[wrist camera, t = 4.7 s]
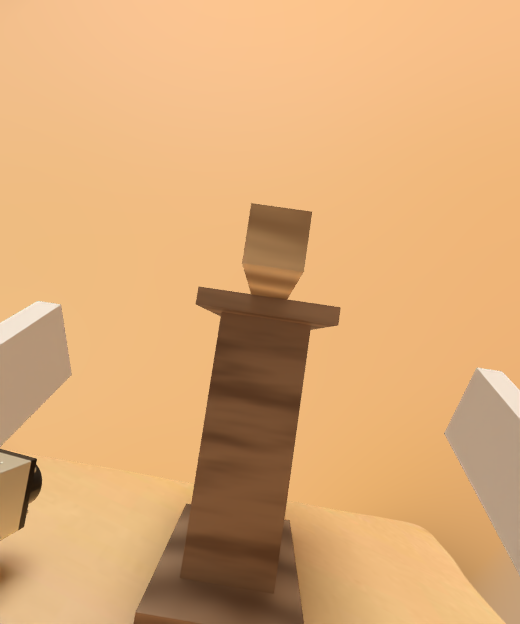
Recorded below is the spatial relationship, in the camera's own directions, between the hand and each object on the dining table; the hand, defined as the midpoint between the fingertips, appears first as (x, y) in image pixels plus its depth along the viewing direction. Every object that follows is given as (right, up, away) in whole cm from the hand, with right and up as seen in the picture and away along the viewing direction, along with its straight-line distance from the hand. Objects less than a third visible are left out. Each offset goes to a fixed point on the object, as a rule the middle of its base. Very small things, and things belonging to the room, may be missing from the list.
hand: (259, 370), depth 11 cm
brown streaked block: (+1, +3, +20) cm, 21 cm away
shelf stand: (-3, -26, +25) cm, 36 cm away
